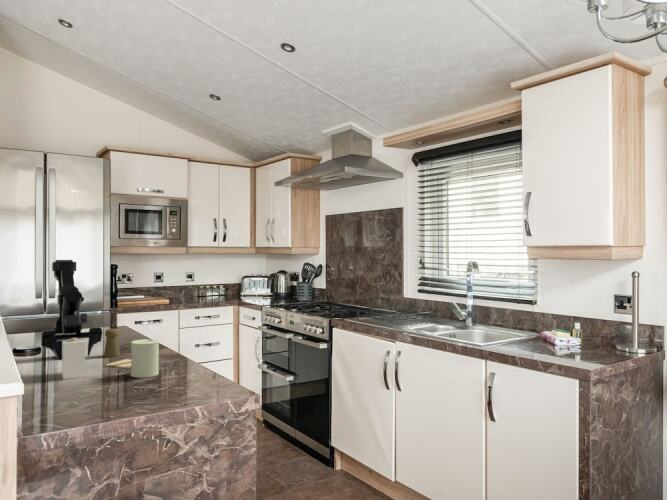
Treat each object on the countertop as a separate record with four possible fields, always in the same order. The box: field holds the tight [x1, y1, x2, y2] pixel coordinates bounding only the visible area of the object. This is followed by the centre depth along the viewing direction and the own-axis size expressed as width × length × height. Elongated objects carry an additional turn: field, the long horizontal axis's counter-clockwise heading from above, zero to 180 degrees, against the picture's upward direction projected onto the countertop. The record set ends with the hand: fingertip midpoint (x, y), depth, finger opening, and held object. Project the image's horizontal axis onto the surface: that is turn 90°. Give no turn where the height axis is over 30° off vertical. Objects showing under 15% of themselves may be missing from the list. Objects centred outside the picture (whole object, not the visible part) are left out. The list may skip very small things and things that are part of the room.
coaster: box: [105, 358, 131, 369], centre depth 192 cm, size 10×10×1 cm
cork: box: [103, 328, 121, 359], centre depth 206 cm, size 6×6×11 cm
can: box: [130, 338, 160, 379], centre depth 178 cm, size 9×9×12 cm
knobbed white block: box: [61, 338, 86, 380], centre depth 174 cm, size 6×6×13 cm
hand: (73, 356), depth 173 cm, fingers open, 9 cm apart
